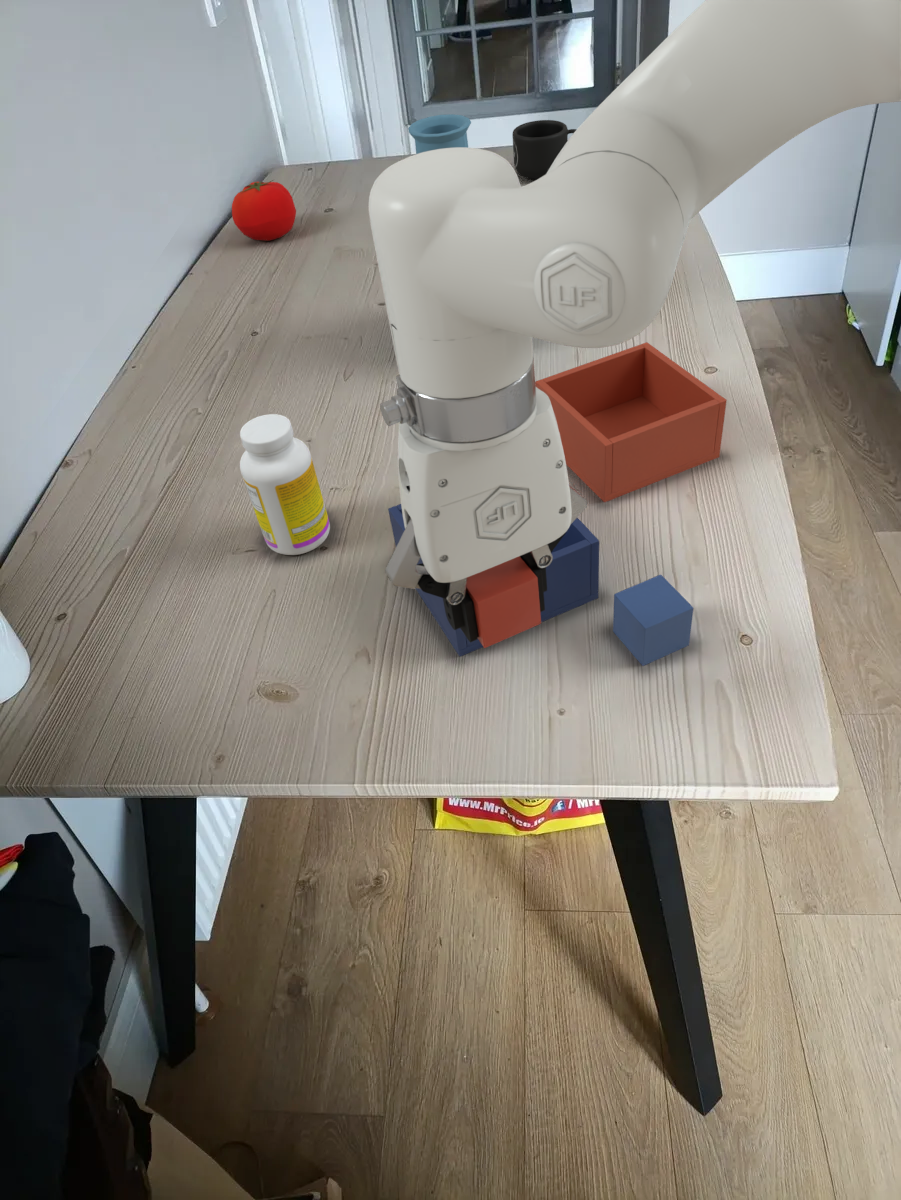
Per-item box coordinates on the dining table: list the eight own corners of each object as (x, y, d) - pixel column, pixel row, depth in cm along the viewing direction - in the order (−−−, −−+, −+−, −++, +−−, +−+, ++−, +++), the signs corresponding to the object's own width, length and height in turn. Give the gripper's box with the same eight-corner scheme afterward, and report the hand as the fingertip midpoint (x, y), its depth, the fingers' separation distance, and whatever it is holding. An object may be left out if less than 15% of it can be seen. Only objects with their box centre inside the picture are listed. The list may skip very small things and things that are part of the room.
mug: (515, 186, 146) (513, 141, 141) (513, 167, 153) (511, 122, 148) (588, 179, 145) (588, 132, 140) (583, 159, 152) (583, 114, 147)
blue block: (657, 611, 75) (660, 574, 72) (689, 645, 72) (693, 607, 69) (612, 631, 74) (613, 593, 71) (642, 666, 71) (645, 628, 68)
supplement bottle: (340, 517, 89) (312, 409, 80) (318, 561, 85) (286, 452, 76) (280, 512, 91) (246, 405, 82) (255, 555, 87) (216, 447, 78)
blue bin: (525, 514, 86) (521, 458, 82) (598, 598, 77) (599, 540, 72) (399, 563, 83) (387, 508, 79) (459, 657, 74) (451, 601, 69)
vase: (375, 357, 111) (335, 148, 94) (434, 297, 121) (408, 97, 104) (494, 376, 105) (476, 155, 87) (545, 311, 115) (538, 101, 97)
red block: (511, 586, 65) (506, 540, 62) (541, 623, 62) (537, 577, 59) (457, 609, 64) (449, 563, 61) (484, 648, 61) (477, 603, 58)
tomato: (312, 231, 142) (300, 178, 136) (259, 255, 138) (245, 200, 132) (280, 219, 148) (267, 166, 142) (228, 241, 143) (213, 188, 137)
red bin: (643, 396, 99) (646, 341, 94) (719, 457, 89) (726, 399, 85) (537, 436, 96) (534, 381, 91) (604, 502, 86) (605, 445, 82)
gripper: (354, 476, 46) (410, 697, 58) (633, 372, 49) (628, 601, 62) (310, 411, 51) (370, 627, 63) (565, 320, 54) (574, 542, 67)
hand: (498, 612), depth 63 cm, fingers closed on red block, 4 cm apart
